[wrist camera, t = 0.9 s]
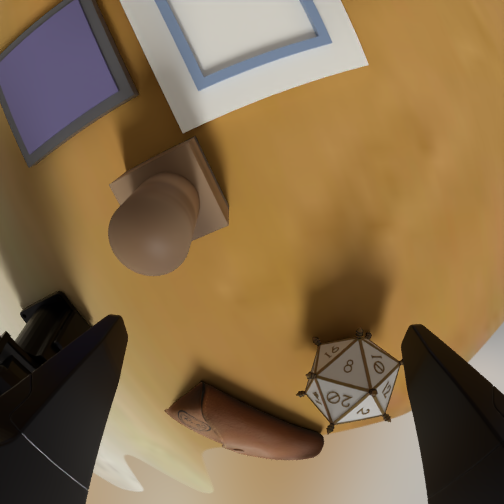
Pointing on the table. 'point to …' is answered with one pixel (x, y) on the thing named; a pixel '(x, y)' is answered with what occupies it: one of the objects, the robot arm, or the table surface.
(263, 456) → the sunglasses case
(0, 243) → the table surface
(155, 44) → the print card
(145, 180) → the stamp
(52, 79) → the ink pad
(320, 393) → the game die
